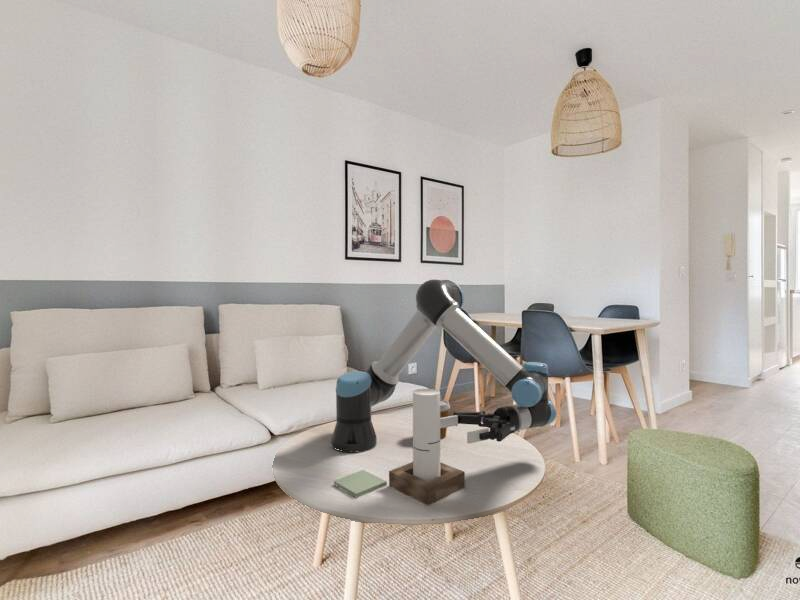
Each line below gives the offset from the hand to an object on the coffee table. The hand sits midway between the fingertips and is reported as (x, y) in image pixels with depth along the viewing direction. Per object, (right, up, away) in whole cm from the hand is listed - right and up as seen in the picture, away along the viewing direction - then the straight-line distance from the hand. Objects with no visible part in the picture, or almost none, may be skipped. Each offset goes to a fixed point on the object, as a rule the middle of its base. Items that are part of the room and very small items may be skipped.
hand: (452, 430), depth 114 cm
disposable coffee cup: (-1, -13, +35) cm, 38 cm away
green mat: (-25, -14, -2) cm, 28 cm away
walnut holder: (-7, -14, -3) cm, 16 cm away
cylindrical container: (-7, -14, -3) cm, 16 cm away
